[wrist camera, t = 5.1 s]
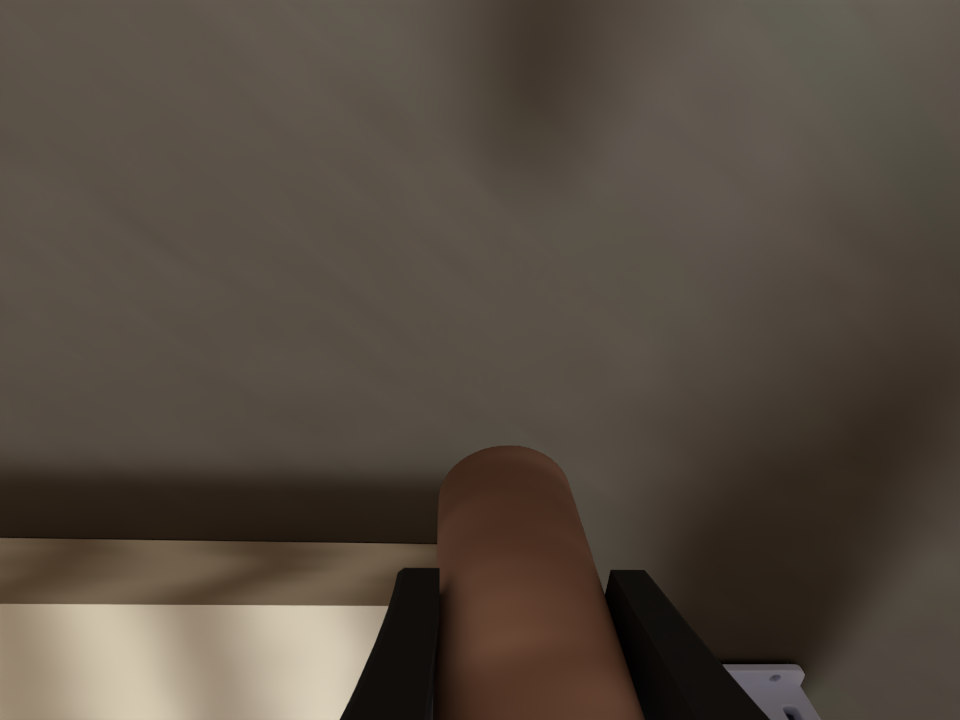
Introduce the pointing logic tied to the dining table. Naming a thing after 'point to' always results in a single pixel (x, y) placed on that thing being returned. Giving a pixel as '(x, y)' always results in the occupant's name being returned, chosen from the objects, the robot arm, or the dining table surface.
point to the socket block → (190, 626)
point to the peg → (522, 599)
